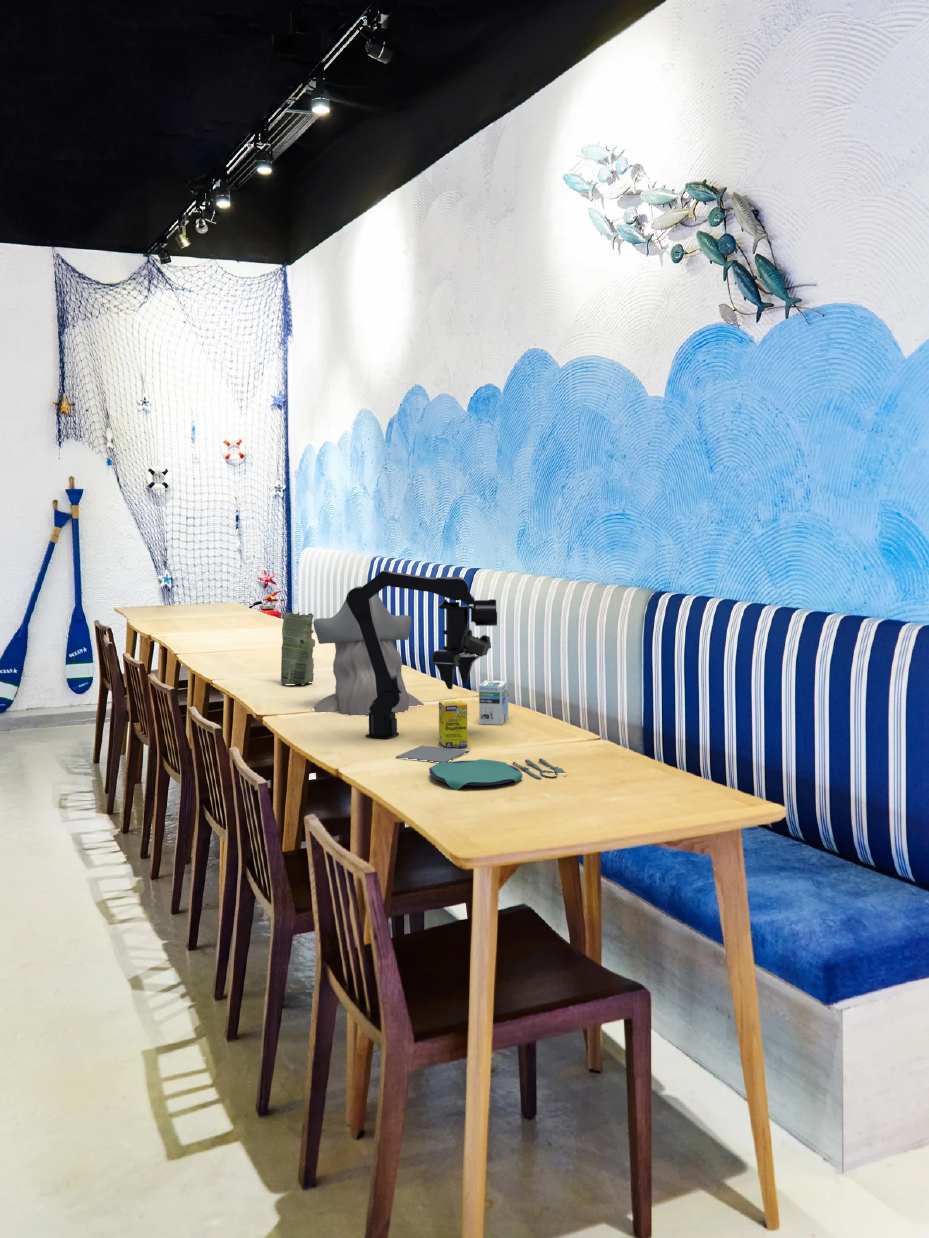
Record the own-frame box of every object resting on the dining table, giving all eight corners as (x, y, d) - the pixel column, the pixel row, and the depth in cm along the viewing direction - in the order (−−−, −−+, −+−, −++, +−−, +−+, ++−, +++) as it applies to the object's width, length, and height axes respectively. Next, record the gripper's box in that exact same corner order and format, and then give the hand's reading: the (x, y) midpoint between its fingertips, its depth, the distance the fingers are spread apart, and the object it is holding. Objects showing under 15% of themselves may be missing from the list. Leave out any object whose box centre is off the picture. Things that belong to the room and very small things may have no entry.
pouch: (282, 682, 355) (280, 610, 352) (317, 681, 356) (315, 609, 354) (279, 687, 344) (278, 613, 341) (315, 686, 345) (314, 612, 343)
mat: (395, 758, 241) (395, 756, 241) (421, 747, 253) (421, 745, 253) (444, 763, 236) (444, 762, 236) (469, 752, 247) (469, 750, 247)
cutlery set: (417, 772, 228) (417, 762, 228) (540, 762, 239) (540, 752, 238) (447, 796, 210) (447, 785, 210) (579, 784, 220) (579, 773, 220)
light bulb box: (502, 725, 279) (502, 686, 278) (478, 724, 280) (478, 685, 279) (509, 717, 289) (508, 680, 288) (485, 717, 291) (485, 679, 290)
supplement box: (444, 749, 250) (444, 705, 249) (438, 744, 256) (438, 701, 255) (468, 748, 252) (467, 703, 251) (461, 742, 257) (461, 699, 256)
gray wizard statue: (407, 693, 330) (405, 585, 327) (438, 712, 298) (436, 592, 295) (302, 700, 320) (299, 588, 316) (322, 720, 288) (319, 595, 284)
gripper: (471, 631, 252) (471, 694, 253) (500, 623, 269) (500, 682, 270) (430, 629, 256) (431, 691, 258) (461, 622, 273) (461, 680, 275)
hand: (457, 686), depth 265 cm, fingers open, 9 cm apart
